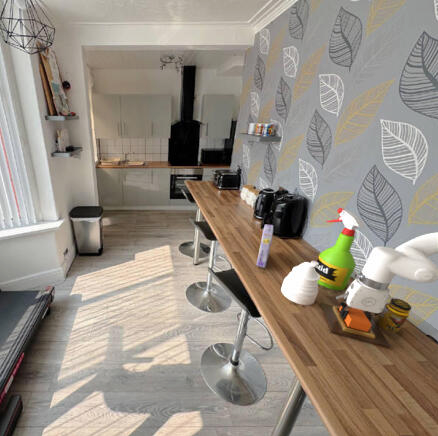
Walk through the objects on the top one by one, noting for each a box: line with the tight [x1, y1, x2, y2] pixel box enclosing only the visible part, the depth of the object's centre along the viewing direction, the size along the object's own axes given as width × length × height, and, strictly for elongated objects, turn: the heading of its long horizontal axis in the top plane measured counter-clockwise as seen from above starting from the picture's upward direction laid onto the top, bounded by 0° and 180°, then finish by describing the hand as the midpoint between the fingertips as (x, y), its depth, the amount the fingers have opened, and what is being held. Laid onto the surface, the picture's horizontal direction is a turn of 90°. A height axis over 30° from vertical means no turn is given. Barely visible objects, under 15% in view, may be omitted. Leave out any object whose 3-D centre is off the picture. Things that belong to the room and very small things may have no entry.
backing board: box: [319, 302, 391, 349], centre depth 89 cm, size 17×15×2 cm
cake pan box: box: [255, 224, 274, 269], centre depth 126 cm, size 19×5×18 cm, turn 152°
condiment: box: [376, 298, 412, 334], centre depth 88 cm, size 7×8×12 cm
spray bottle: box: [314, 207, 365, 291], centre depth 108 cm, size 14×18×35 cm
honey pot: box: [280, 260, 320, 306], centre depth 100 cm, size 13×13×18 cm
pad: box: [339, 305, 371, 332], centre depth 88 cm, size 6×9×4 cm, turn 160°
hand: (353, 319), depth 88 cm, fingers closed on pad, 5 cm apart
